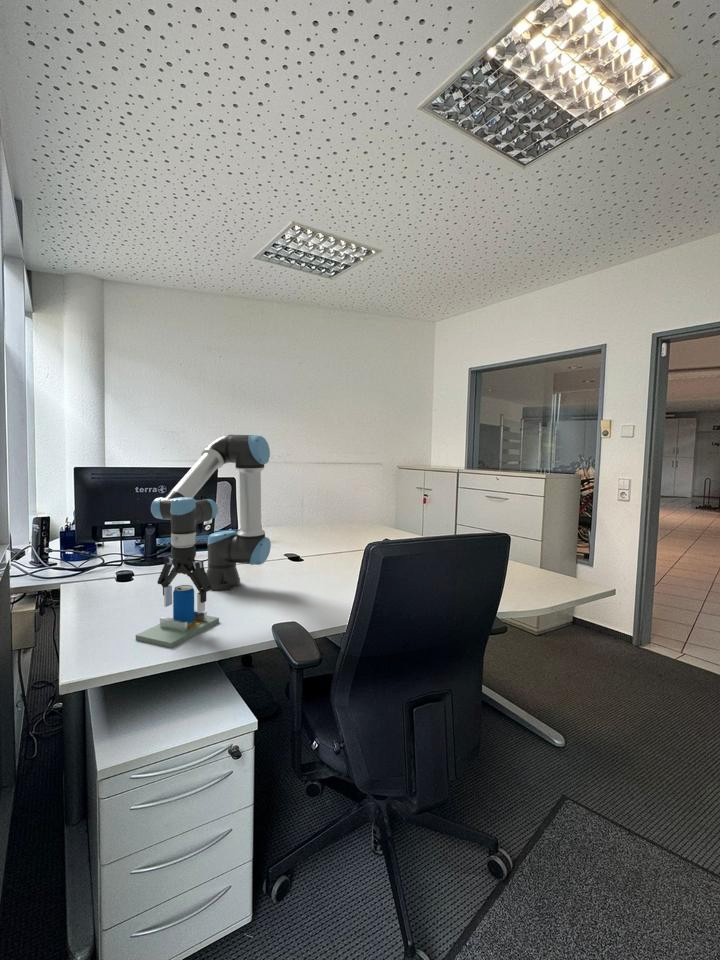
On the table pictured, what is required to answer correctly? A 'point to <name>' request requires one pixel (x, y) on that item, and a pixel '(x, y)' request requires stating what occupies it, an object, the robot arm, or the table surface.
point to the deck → (173, 633)
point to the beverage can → (183, 603)
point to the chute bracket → (183, 622)
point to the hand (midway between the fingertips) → (184, 608)
